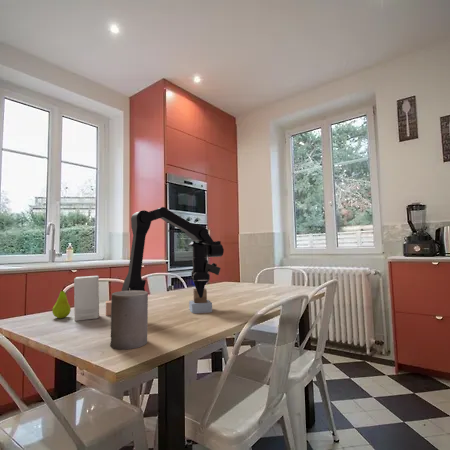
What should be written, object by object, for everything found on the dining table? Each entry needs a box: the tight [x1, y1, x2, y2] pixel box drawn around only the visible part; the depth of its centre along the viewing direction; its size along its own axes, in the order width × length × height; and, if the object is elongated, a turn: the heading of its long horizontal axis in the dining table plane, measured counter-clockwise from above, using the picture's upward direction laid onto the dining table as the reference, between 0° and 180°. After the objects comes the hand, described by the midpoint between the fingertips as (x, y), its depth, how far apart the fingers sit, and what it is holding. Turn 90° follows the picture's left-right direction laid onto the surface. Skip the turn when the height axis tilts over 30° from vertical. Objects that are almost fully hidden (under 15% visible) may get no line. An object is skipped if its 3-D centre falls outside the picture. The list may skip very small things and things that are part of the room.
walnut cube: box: [192, 287, 208, 303], centre depth 125 cm, size 5×5×5 cm
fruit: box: [51, 285, 72, 319], centre depth 117 cm, size 6×6×12 cm
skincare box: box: [73, 275, 100, 322], centre depth 116 cm, size 8×7×16 cm
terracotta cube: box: [104, 300, 111, 317], centre depth 122 cm, size 5×5×5 cm
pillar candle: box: [109, 288, 149, 350], centre depth 83 cm, size 10×10×15 cm
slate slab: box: [188, 299, 213, 314], centre depth 125 cm, size 8×8×4 cm
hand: (200, 295), depth 125 cm, fingers open, 9 cm apart
